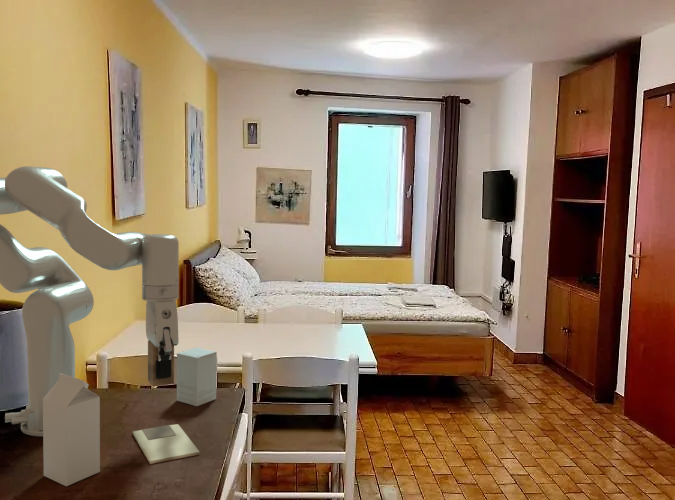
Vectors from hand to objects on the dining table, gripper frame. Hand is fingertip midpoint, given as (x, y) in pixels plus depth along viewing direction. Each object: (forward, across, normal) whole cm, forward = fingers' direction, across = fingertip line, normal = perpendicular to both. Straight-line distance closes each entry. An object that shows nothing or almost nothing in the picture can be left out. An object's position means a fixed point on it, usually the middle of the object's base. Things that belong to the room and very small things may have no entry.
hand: (160, 373), depth 132 cm
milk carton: (+14, -11, +19) cm, 26 cm away
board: (+14, -5, 0) cm, 15 cm away
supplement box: (+14, +18, -14) cm, 27 cm away
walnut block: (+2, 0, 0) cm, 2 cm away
